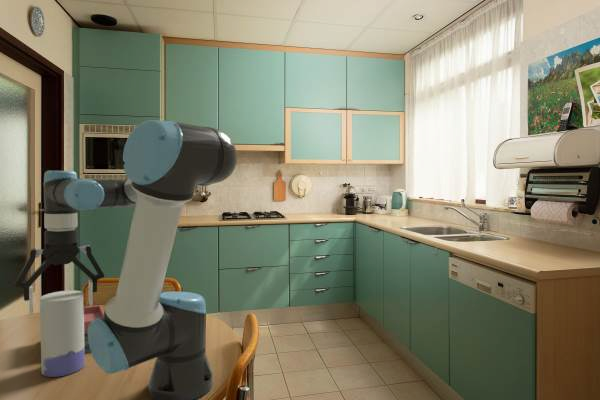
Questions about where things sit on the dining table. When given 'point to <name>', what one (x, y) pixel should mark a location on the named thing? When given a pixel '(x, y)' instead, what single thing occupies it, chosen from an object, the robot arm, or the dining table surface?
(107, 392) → the dining table surface
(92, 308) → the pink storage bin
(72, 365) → the container
